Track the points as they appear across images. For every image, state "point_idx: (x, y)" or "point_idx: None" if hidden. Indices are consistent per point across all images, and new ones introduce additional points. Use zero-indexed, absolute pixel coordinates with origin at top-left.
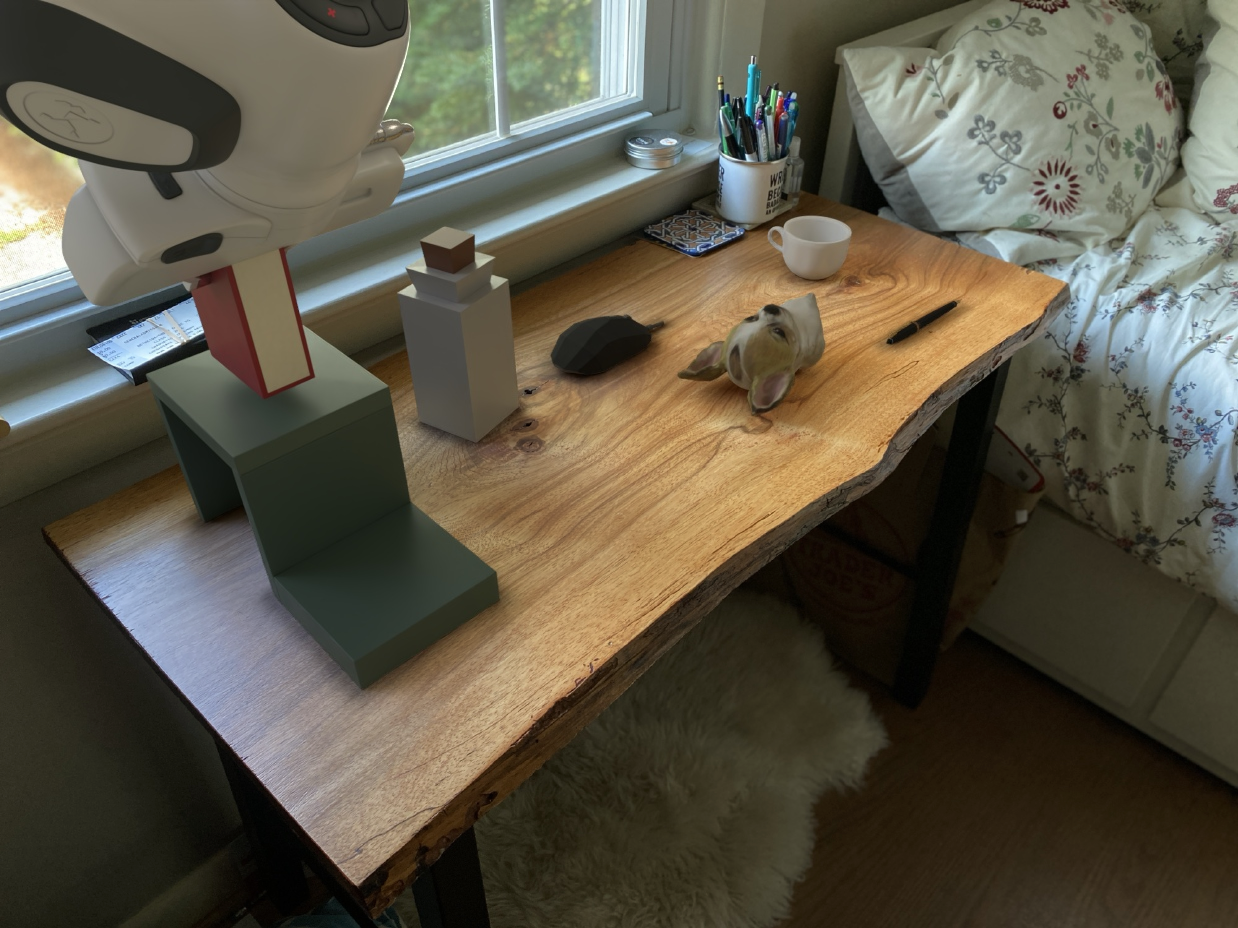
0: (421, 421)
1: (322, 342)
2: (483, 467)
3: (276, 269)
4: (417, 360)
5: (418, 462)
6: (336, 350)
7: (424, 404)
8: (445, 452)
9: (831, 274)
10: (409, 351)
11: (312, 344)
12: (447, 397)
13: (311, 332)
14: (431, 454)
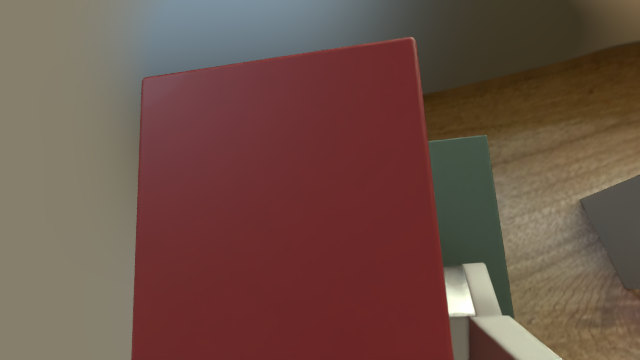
0: (582, 203)
1: (496, 244)
2: (607, 337)
3: None
4: (636, 196)
5: (539, 272)
6: (505, 287)
7: (600, 207)
8: (579, 277)
9: None
10: (636, 180)
11: (478, 241)
12: (635, 248)
13: (493, 201)
14: (561, 269)
